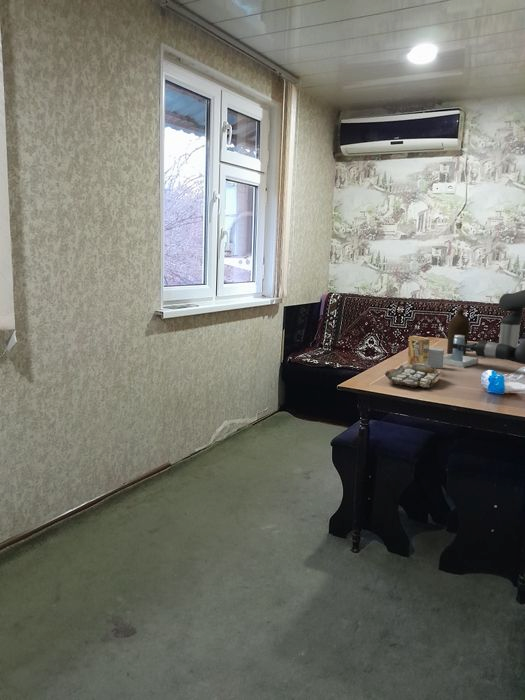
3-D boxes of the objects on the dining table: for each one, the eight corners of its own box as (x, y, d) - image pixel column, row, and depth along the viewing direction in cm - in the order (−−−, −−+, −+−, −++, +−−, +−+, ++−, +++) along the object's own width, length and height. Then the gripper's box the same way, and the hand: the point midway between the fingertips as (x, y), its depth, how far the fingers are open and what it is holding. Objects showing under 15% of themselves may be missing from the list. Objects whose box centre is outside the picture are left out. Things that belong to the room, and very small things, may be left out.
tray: (450, 358, 270) (451, 353, 269) (477, 363, 260) (478, 358, 259) (435, 362, 259) (436, 357, 258) (463, 367, 249) (463, 362, 248)
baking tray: (433, 395, 202) (434, 381, 201) (377, 386, 212) (378, 373, 211) (447, 379, 227) (448, 366, 226) (397, 371, 238) (398, 360, 237)
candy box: (427, 371, 239) (430, 338, 236) (421, 372, 237) (424, 338, 234) (412, 367, 247) (415, 335, 244) (406, 368, 244) (408, 335, 241)
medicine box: (442, 367, 249) (444, 349, 248) (441, 369, 245) (443, 350, 244) (425, 365, 252) (427, 347, 251) (424, 367, 248) (425, 349, 247)
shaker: (454, 360, 263) (456, 334, 260) (464, 362, 259) (466, 335, 257) (449, 361, 259) (452, 335, 256) (459, 363, 256) (462, 336, 253)
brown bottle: (452, 356, 277) (457, 308, 272) (442, 352, 287) (446, 306, 282) (470, 355, 279) (475, 308, 274) (459, 351, 289) (463, 306, 284)
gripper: (495, 340, 252) (462, 335, 263) (482, 343, 242) (449, 338, 253) (493, 355, 253) (461, 350, 264) (481, 359, 243) (448, 353, 254)
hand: (455, 344), depth 259 cm, fingers open, 8 cm apart
